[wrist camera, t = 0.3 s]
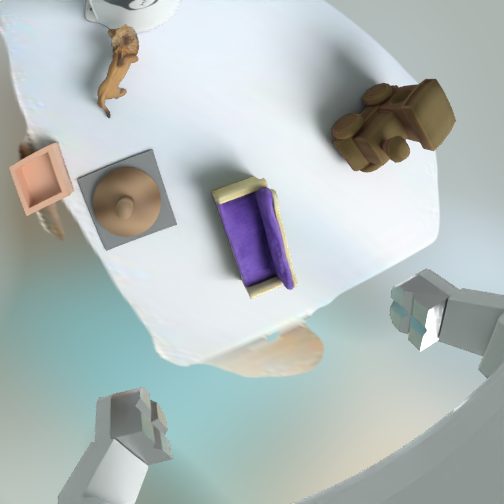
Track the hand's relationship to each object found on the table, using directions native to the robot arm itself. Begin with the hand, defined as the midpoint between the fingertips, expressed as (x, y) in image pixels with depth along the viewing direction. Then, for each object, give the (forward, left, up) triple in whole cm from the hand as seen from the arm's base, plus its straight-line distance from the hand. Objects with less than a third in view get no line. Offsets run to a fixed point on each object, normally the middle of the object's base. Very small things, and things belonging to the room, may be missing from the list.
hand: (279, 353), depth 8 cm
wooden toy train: (+2, +39, -46) cm, 60 cm away
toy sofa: (+17, +9, -46) cm, 50 cm away
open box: (-6, -23, -46) cm, 52 cm away
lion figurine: (-18, -5, -46) cm, 50 cm away
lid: (+4, -10, -46) cm, 47 cm away
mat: (+4, -10, -46) cm, 47 cm away
